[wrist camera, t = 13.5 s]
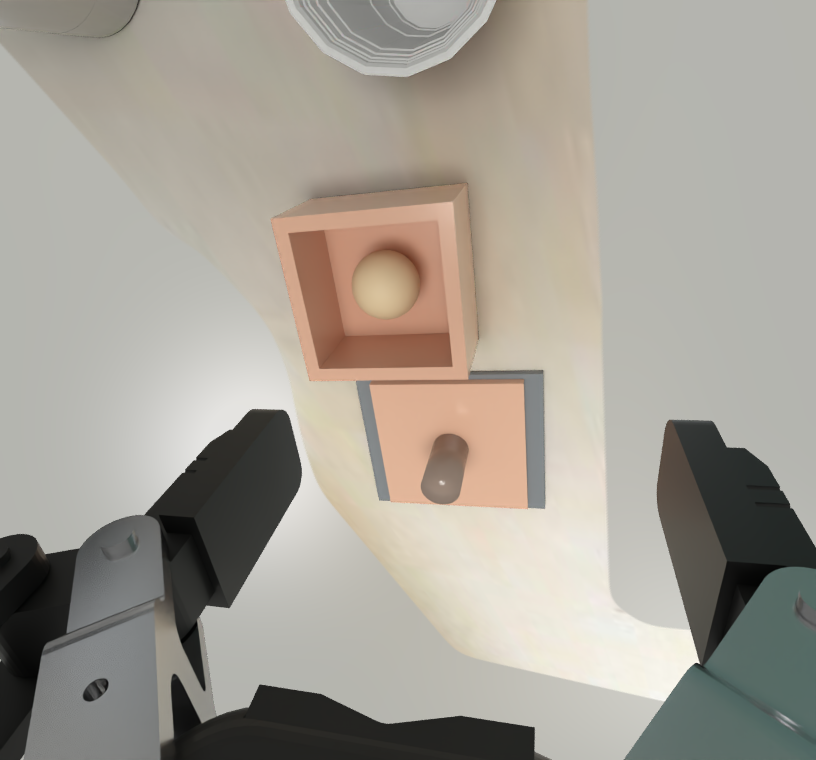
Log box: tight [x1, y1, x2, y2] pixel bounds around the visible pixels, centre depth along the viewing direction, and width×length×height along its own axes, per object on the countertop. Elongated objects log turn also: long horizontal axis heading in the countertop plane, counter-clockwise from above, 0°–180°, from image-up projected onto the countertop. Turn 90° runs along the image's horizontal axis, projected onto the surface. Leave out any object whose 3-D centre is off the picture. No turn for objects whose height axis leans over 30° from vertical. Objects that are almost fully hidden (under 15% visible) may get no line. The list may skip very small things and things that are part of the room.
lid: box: [369, 379, 528, 509], centre depth 45 cm, size 13×13×6 cm
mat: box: [356, 371, 545, 509], centre depth 48 cm, size 16×14×1 cm
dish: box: [271, 183, 479, 381], centre depth 39 cm, size 12×12×7 cm
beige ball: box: [352, 250, 420, 320], centre depth 39 cm, size 5×5×5 cm
